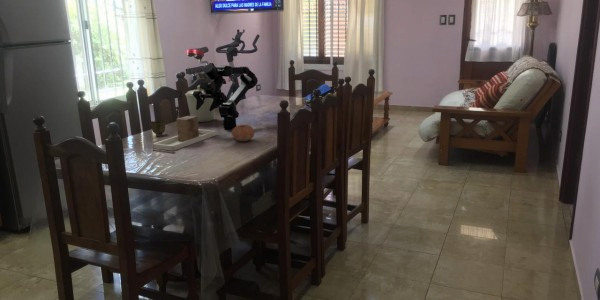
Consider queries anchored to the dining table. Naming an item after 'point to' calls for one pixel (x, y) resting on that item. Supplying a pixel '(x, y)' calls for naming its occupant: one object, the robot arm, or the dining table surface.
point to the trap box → (175, 144)
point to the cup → (158, 127)
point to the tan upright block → (187, 128)
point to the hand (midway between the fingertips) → (203, 110)
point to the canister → (203, 111)
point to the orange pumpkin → (243, 133)
